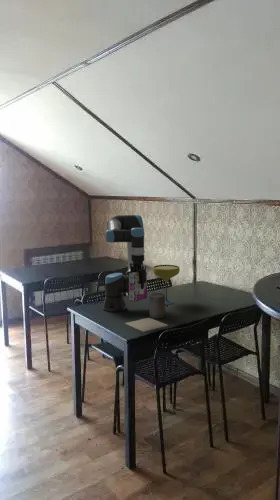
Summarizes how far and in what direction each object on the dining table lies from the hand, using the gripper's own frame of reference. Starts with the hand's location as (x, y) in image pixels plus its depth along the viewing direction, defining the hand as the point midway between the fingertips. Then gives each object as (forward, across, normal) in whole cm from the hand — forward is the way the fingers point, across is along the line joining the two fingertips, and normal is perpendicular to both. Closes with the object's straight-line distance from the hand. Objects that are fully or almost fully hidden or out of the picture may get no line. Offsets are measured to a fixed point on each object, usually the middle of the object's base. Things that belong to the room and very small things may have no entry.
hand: (138, 292), depth 263 cm
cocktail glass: (+18, -25, +41) cm, 51 cm away
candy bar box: (+4, 0, 0) cm, 4 cm away
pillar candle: (+18, -3, +16) cm, 25 cm away
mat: (+18, +7, +1) cm, 19 cm away
